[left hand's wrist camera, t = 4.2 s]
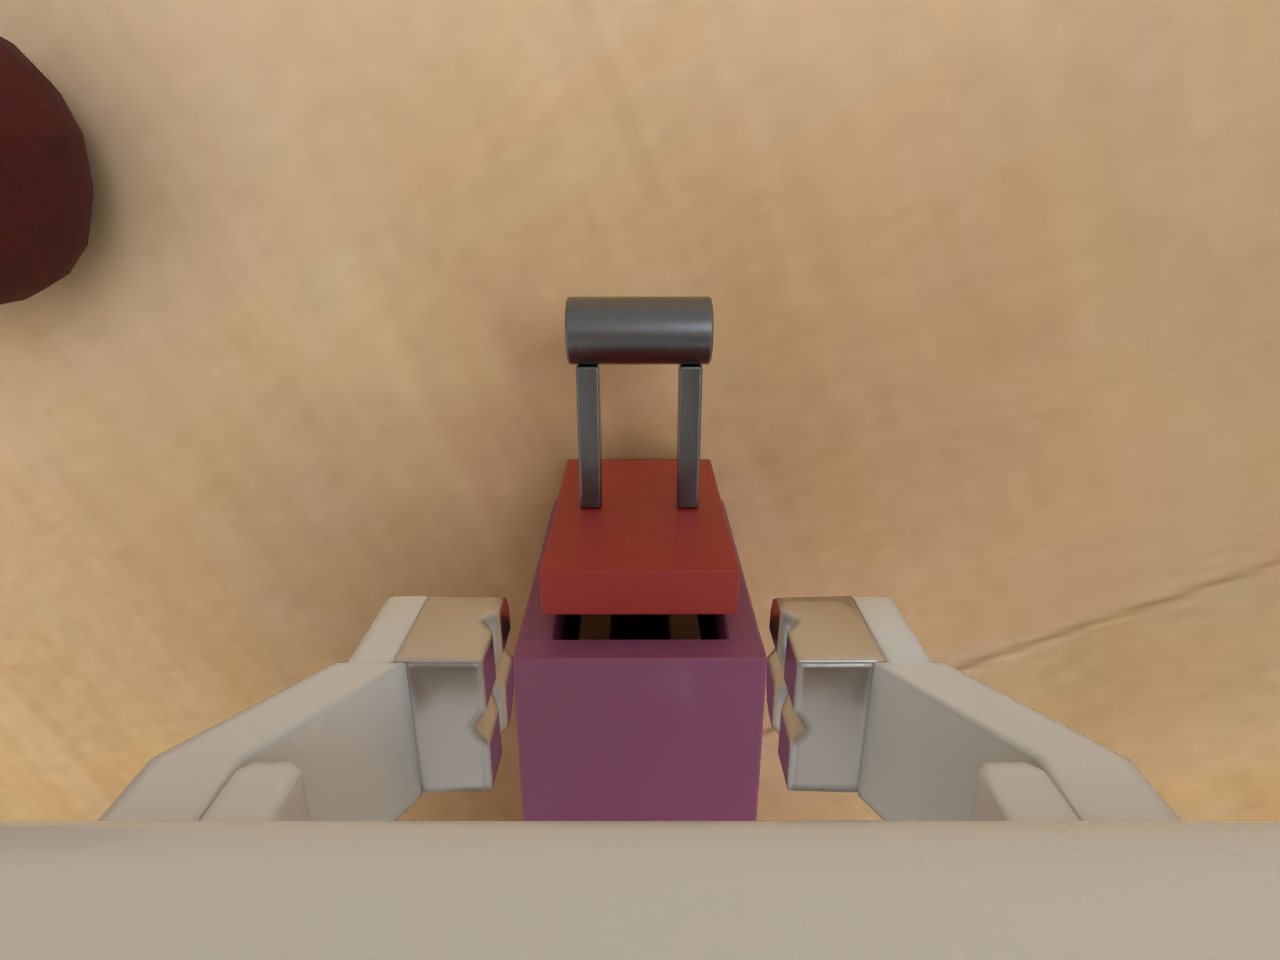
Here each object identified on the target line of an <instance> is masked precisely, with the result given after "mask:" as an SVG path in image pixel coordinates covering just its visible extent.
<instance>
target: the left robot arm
mask: <svg viewBox="0 0 1280 960" xmlns="http://www.w3.org/2000/svg"><path fill="white" fill-rule="evenodd" d="M509 631H510V618H509V608H508V603H507V600H506V598H491V597H437V596H432V597H429V596H394V597H390V598H388V599H387V600H386V602H385V604H384V605H383V607H382V608H381V610H380V612H379V613H378V615H377V616H376V618H375V620H374V621H373V623H372V624H371V626H370V628H369V629H368V631H367V632H366V634H365V636H364V637H363V639H362V640H361V642H360V644H359V645H358V647H357V648H356V650H355V652H354V653H353V655H352V656H351V658H350V660H349V661H348V662H341V663H334V664H332V665H330V666H328V667H326V668H325V669H323V670H321V671H319V672H317V673H315V674H313V675H311V676H309V677H307V678H305V679H303V680H302V681H300V682H298V683H296V684H294V685H292V686H290V687H288V688H286V689H284V690H282V691H281V692H279V693H277V694H275V695H273V696H271V697H269V698H267V699H265V700H263V701H261V702H259V703H258V704H256V705H254V706H252V707H250V708H248V709H246V710H244V711H242V712H240V713H238V714H236V715H235V716H233V717H231V718H229V719H227V720H225V721H223V722H221V723H219V724H217V725H215V726H213V727H212V728H210V729H208V730H206V731H204V732H202V733H200V734H198V735H196V736H194V737H192V738H190V739H189V740H187V741H185V742H183V743H181V744H179V745H177V746H175V747H173V748H171V749H169V750H167V751H166V752H164V753H162V754H160V755H158V756H156V757H154V758H152V759H151V760H150V761H149V762H148V763H147V764H146V766H145V767H144V768H143V769H142V770H141V771H140V773H139V774H138V775H137V776H136V777H135V778H134V780H133V781H132V782H131V783H130V784H129V785H128V786H127V788H126V789H125V790H124V791H123V792H122V793H121V795H120V796H119V797H118V798H117V799H116V800H115V802H114V803H113V804H112V805H111V806H110V807H109V808H108V810H107V811H106V812H105V813H104V814H103V815H102V817H101V818H100V819H99V820H98V821H0V960H1280V821H1182V820H1181V819H1180V818H1179V817H1178V815H1177V814H1176V813H1175V812H1174V811H1173V810H1172V808H1171V807H1170V806H1169V805H1168V804H1167V803H1166V801H1165V800H1164V799H1163V798H1162V797H1161V796H1160V794H1159V793H1158V792H1157V791H1156V790H1155V789H1154V787H1153V786H1152V785H1151V784H1150V783H1149V782H1148V780H1147V779H1146V778H1145V777H1144V776H1143V775H1142V773H1141V772H1140V771H1139V770H1138V769H1137V768H1136V766H1135V765H1134V764H1133V763H1132V762H1131V761H1130V760H1129V759H1127V758H1125V757H1123V756H1121V755H1119V754H1118V753H1116V752H1114V751H1112V750H1110V749H1108V748H1106V747H1104V746H1102V745H1100V744H1098V743H1097V742H1095V741H1093V740H1091V739H1089V738H1087V737H1085V736H1083V735H1081V734H1079V733H1077V732H1076V731H1074V730H1072V729H1070V728H1068V727H1066V726H1064V725H1062V724H1060V723H1058V722H1056V721H1055V720H1053V719H1051V718H1049V717H1047V716H1045V715H1043V714H1041V713H1039V712H1037V711H1035V710H1034V709H1032V708H1030V707H1028V706H1026V705H1024V704H1022V703H1020V702H1018V701H1016V700H1014V699H1013V698H1011V697H1009V696H1007V695H1005V694H1003V693H1001V692H999V691H997V690H995V689H993V688H992V687H990V686H988V685H986V684H984V683H982V682H980V681H978V680H976V679H974V678H972V677H971V676H969V675H967V674H965V673H963V672H961V671H959V670H957V669H955V668H953V667H951V666H950V665H948V664H946V663H939V662H931V660H930V658H929V657H928V655H927V654H926V652H925V650H924V649H923V647H922V646H921V644H920V643H919V641H918V639H917V638H916V636H915V635H914V633H913V631H912V630H911V628H910V627H909V625H908V624H907V622H906V620H905V619H904V617H903V616H902V614H901V613H900V611H899V609H898V608H897V606H896V605H895V603H894V601H893V600H892V598H890V597H888V596H886V595H883V596H861V597H851V596H843V597H801V598H776V599H773V602H772V608H771V615H770V631H771V635H772V639H773V642H774V646H775V649H774V650H773V651H772V652H771V654H770V655H769V656H768V657H767V702H768V709H769V716H770V720H771V724H772V728H773V729H774V730H775V731H777V732H778V733H779V748H778V753H779V757H780V761H781V765H782V769H783V773H784V777H785V780H786V784H787V788H788V790H796V791H833V792H858V796H859V797H860V798H861V799H862V800H863V801H864V802H865V803H866V804H868V805H869V806H870V807H871V808H872V809H873V810H874V811H875V812H876V813H877V814H878V815H879V816H880V817H881V818H882V819H883V820H884V821H396V820H397V819H398V818H399V817H400V816H401V815H402V814H403V813H404V812H405V811H407V810H408V809H409V808H410V807H411V806H412V805H413V804H414V803H415V802H416V801H417V800H418V799H419V798H420V797H421V796H422V794H421V792H446V791H482V790H492V788H493V784H494V780H495V776H496V773H497V769H498V765H499V761H500V757H501V753H502V750H501V735H500V734H501V733H502V732H503V731H505V730H506V729H507V728H508V724H509V720H510V715H511V708H512V699H513V659H512V656H511V655H510V654H509V653H508V651H507V650H506V649H505V645H506V642H507V638H508V635H509Z"/></svg>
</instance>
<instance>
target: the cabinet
mask: <svg viewBox="0 0 1280 960" xmlns="http://www.w3.org/2000/svg"><path fill="white" fill-rule="evenodd" d="M557 502H558V500H557V501H555V503H554V507H553V510H552V513H551V517H550V521H549V524H548V528H547V532H546V536H545V539H544V543H543V547H542V551H541V555H540V558H539V562H538V566H537V570H536V573H535V577H534V581H533V585H532V588H531V592H530V596H529V600H528V603H527V607H526V611H525V615H524V619H523V622H522V626H521V630H520V634H519V637H518V642H517V645H516V649H515V653H514V656H513V672H514V687H515V701H516V716H517V730H518V745H519V759H520V774H521V788H522V803H523V817H524V821H756V817H757V802H758V787H759V772H760V757H761V742H762V728H763V713H764V698H765V683H766V668H767V657H766V653H765V650H764V646H763V642H762V640H761V637H760V633H759V629H758V626H757V622H756V618H755V615H754V611H753V608H752V604H751V600H750V597H749V593H748V589H747V586H746V582H745V579H744V575H743V571H742V568H741V564H740V560H739V557H738V553H737V550H736V546H735V542H734V539H733V535H732V531H731V528H730V524H729V521H728V517H727V513H726V510H725V506H724V503H723V501H722V500H721V503H722V507H723V510H724V514H725V518H726V521H727V525H728V529H729V533H730V536H731V540H732V544H733V548H734V551H735V555H736V559H737V562H738V566H739V570H740V578H739V598H738V613H737V614H698V620H699V627H700V634H701V640H578V637H579V630H580V622H581V615H543V614H542V609H541V589H540V568H541V564H542V560H543V556H544V552H545V548H546V544H547V541H548V537H549V533H550V529H551V525H552V521H553V517H554V513H555V509H556V505H557Z"/></svg>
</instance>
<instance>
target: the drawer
mask: <svg viewBox="0 0 1280 960" xmlns="http://www.w3.org/2000/svg"><path fill="white" fill-rule="evenodd" d="M565 342H566V355H567V360H568V363H569V364H577V367H576V383H577V416H578V450H579V460H568V462H567V466H566V470H565V474H564V478H563V482H562V486H561V490H560V494H559V498H558V502H557V505H556V509H555V513H554V517H553V521H552V525H551V529H550V533H549V537H548V541H547V544H546V548H545V552H544V556H543V560H542V564H541V568H540V589H541V609H542V614H543V615H581V622H580V630H579V637H578V640H701V634H700V627H699V620H698V614H737V613H738V598H739V578H740V570H739V566H738V562H737V559H736V555H735V551H734V548H733V544H732V540H731V536H730V533H729V529H728V525H727V521H726V518H725V514H724V510H723V507H722V503H721V499H720V495H719V492H718V488H717V484H716V481H715V477H714V473H713V469H712V466H711V462H710V460H700V434H701V399H702V366H701V364H709V363H710V361H711V357H712V349H713V305H712V300H711V298H710V297H569V298H567V301H566V309H565ZM600 364H679V367H678V425H677V460H602V453H601V401H600Z"/></svg>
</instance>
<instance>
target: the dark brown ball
mask: <svg viewBox="0 0 1280 960" xmlns="http://www.w3.org/2000/svg"><path fill="white" fill-rule="evenodd" d="M92 202H93V184H92V179H91V173H90V168H89V163H88V158H87V153H86V148H85V143H84V138H83V134H82V132H81V130H80V128H79V126H78V125H77V123H76V121H75V119H74V117H73V115H72V114H71V112H70V110H69V108H68V106H67V104H66V103H65V101H64V99H63V97H62V95H61V94H60V93H59V91H58V90H57V89H56V88H55V87H54V85H53V84H52V83H51V82H50V81H49V80H48V79H47V78H46V77H45V76H44V75H43V74H42V73H41V72H40V71H39V70H38V69H37V68H36V66H35V65H34V64H33V63H32V62H31V61H30V60H29V59H28V58H27V57H26V56H25V55H24V54H23V53H22V52H21V51H20V50H19V49H18V48H17V47H16V46H15V45H14V44H13V43H11V42H9V41H7V40H6V39H4V38H2V37H0V304H5V303H10V302H15V301H20V300H25V299H27V298H29V297H31V296H32V295H34V294H36V293H38V292H40V291H42V290H44V289H45V288H47V287H49V286H50V285H52V284H53V283H55V282H57V281H58V280H60V279H61V278H63V277H65V276H66V275H68V274H69V273H70V272H71V270H72V268H73V267H74V265H75V264H76V262H77V261H78V259H79V258H80V256H81V254H82V253H83V251H84V250H85V248H86V247H87V245H88V237H89V228H90V219H91V211H92Z"/></svg>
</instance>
